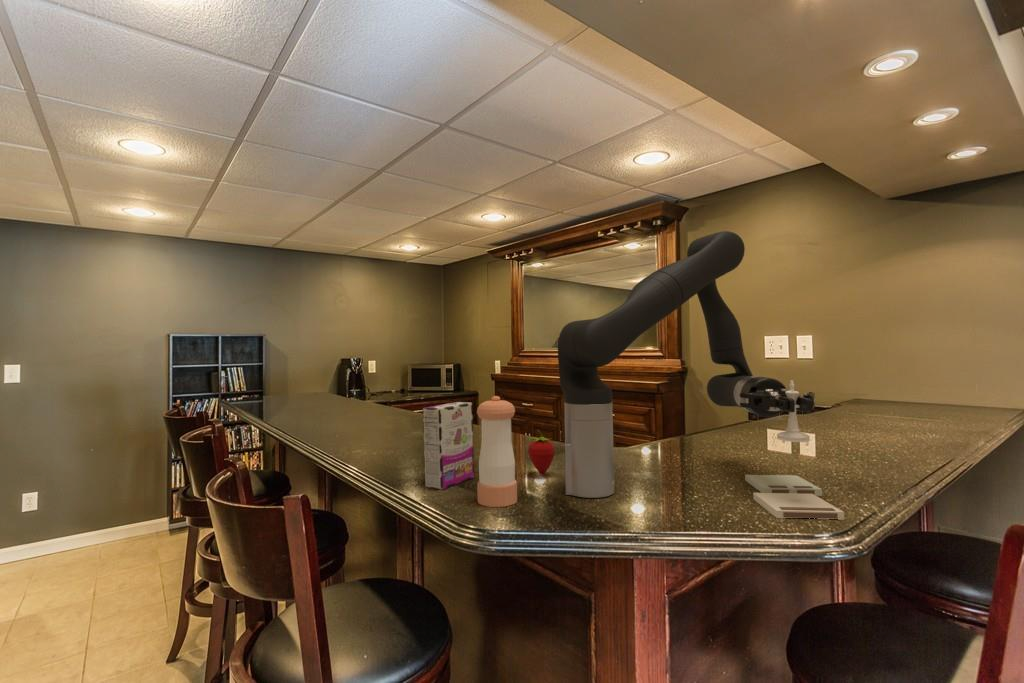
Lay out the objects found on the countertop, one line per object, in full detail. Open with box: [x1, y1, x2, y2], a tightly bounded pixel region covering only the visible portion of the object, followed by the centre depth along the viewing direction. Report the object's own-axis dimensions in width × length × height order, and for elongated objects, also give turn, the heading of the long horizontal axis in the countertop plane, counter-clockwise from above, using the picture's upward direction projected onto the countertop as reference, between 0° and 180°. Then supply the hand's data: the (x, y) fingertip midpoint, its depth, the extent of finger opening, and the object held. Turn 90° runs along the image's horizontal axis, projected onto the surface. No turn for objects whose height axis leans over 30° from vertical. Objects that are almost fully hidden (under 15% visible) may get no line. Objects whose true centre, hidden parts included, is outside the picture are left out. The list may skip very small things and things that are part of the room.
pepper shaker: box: [476, 395, 518, 508], centre depth 89 cm, size 7×7×19 cm
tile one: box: [752, 492, 845, 521], centre depth 82 cm, size 10×10×1 cm
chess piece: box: [776, 379, 811, 443], centre depth 83 cm, size 5×5×10 cm
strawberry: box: [527, 429, 556, 476], centre depth 107 cm, size 6×8×10 cm
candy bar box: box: [422, 401, 475, 490], centre depth 103 cm, size 11×5×16 cm, turn 148°
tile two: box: [744, 474, 823, 497], centre depth 94 cm, size 10×10×1 cm
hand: (800, 405), depth 80 cm, fingers closed on chess piece
